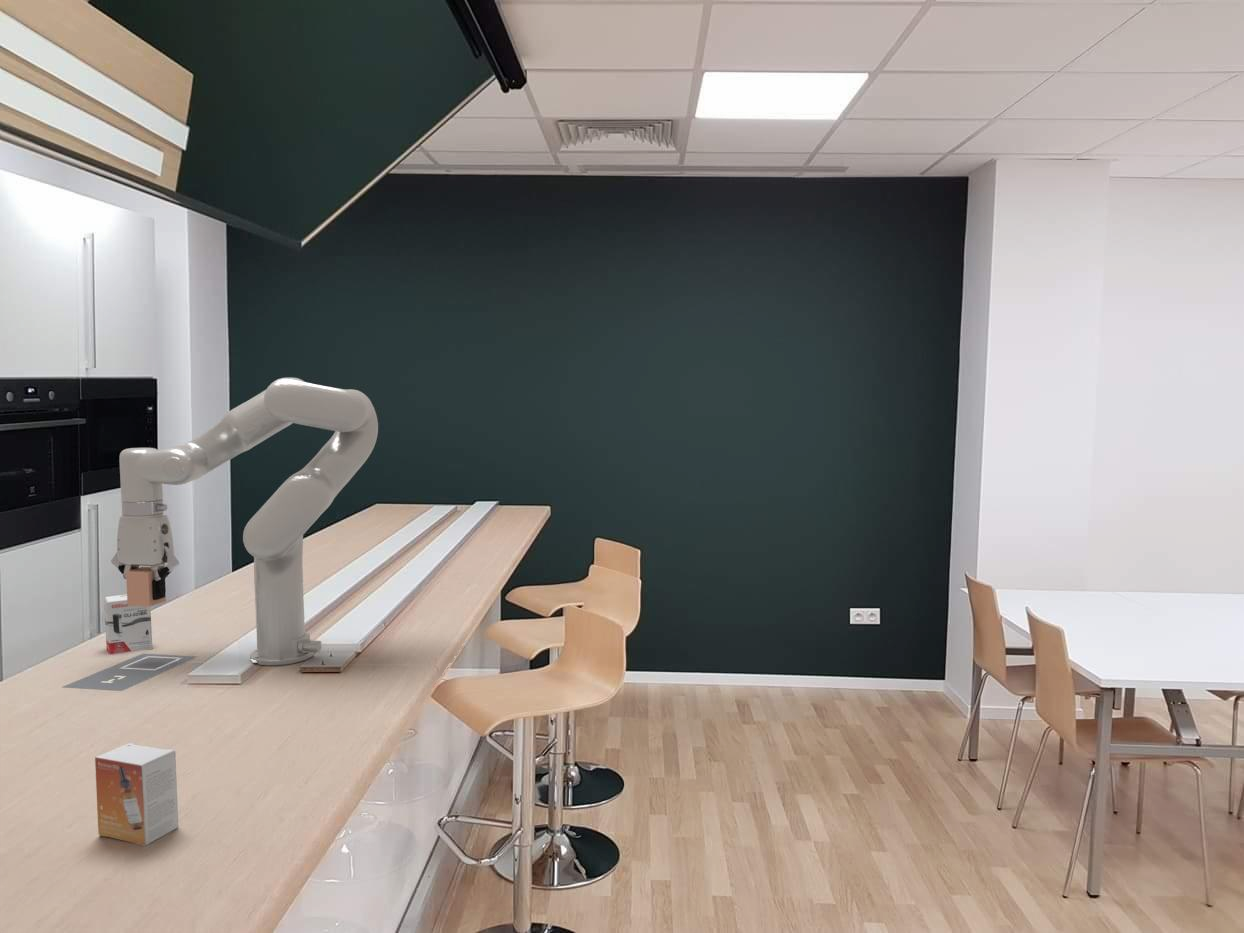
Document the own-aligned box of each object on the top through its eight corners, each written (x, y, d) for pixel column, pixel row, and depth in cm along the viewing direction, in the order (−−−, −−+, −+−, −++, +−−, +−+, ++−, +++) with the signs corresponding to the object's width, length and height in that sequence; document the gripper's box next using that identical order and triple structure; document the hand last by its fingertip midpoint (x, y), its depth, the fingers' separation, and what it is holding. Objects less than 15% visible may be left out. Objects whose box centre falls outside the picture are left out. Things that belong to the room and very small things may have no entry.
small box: (97, 836, 126) (92, 756, 125) (133, 818, 131) (128, 741, 130) (145, 847, 123) (140, 765, 122) (180, 827, 128) (176, 749, 127)
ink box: (109, 656, 209) (106, 600, 208) (106, 650, 213) (103, 596, 212) (153, 649, 214) (150, 595, 212) (150, 644, 218) (147, 591, 217)
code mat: (198, 657, 207) (197, 656, 207) (121, 692, 184) (121, 690, 184) (143, 654, 209) (143, 653, 209) (61, 688, 187) (61, 687, 187)
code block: (165, 601, 203) (164, 567, 202) (149, 606, 198) (147, 572, 197) (144, 600, 204) (142, 566, 203) (127, 605, 199) (125, 571, 198)
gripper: (192, 507, 201) (195, 595, 203) (118, 505, 205) (122, 592, 206) (168, 512, 194) (172, 604, 195) (92, 510, 197) (96, 600, 199)
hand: (146, 597), depth 201 cm, fingers closed on code block, 5 cm apart
